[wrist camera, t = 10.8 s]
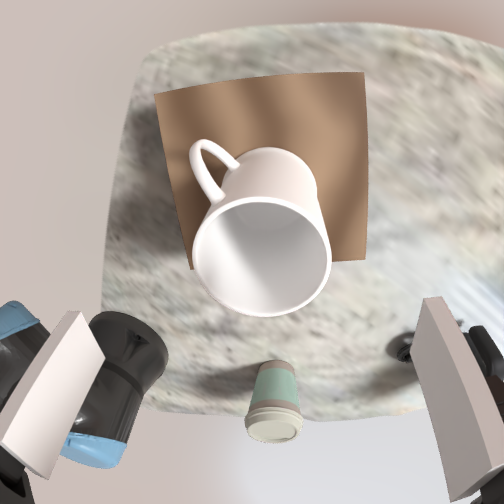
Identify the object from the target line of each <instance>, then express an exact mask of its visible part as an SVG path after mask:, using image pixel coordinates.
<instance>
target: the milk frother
mask: <svg viewBox="0 0 504 504" xmlns="http://www.w3.org/2000/svg"><path fill="white" fill-rule="evenodd" d="M463 335H464V337H465V339H466V341H467V343H468V345H469V347H470V349H471V351H472V353H473V355H474V357H475V359H476V361H477V363H478V365H479V367H480V370H481V372H482V374H483V376H484V378H486V377H489V376H493V375H497V376H498V377H499V378H500V379H501V380H502V381H503V380H504V358H503V356H502V354H501V352H500V351H499V349H498V348H497V346H496V344H495V343H494V341H493V340H492V338H491V337H490V335H489V334H488V332H487V331H486V329H485V328H484V327H483V326H473V327H471V328H470V329H469V333H463ZM411 345H412V344H409V345H408V346H406V347H404V348H403V349H401V350H400V351H399V352H398V354H397V358H398V360H399V361H402V362H404V361H405V362H406V363H410V362H413V361H412V358H411V355H410V349H411Z"/></svg>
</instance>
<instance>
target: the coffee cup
mask: <svg viewBox="0 0 504 504" xmlns="http://www.w3.org/2000/svg"><path fill="white" fill-rule="evenodd" d="M302 426H303V418H302V416H301V415H300V407H299V400H298V394H297V387H296V380H295V374H294V369H293V367H292V366H291V365H290V364H289V363H287V362H284V361H280V360H272V361H268V362H265V363H264V364H262V365H261V366H260V368H259V371H258V375H257V379H256V383H255V387H254V391H253V395H252V399H251V403H250V407H249V411H248V414H247V415H246V416H245V427H246V428H247V433H248V434H249V436H250V437H252V438H253V439H255V440H257V441H260V442H264V443H284V442H288V441H291V440H293V439H295V438H296V437H297V436H298V435H299V433H300V430H301V428H302Z"/></svg>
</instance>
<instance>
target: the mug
mask: <svg viewBox="0 0 504 504" xmlns="http://www.w3.org/2000/svg"><path fill="white" fill-rule="evenodd" d="M200 149H204V150H206V151H208V152H210V153H212V154H213V155H214V156H216V157H217V158H218V159H219V160H221V161H222V162H223V163H224V164H225V165H226V166H227V168H228V170H227V171H226V173H225V176H224V178H223V182H222V186H221V188H219V187H218V185H217V184H216V183H215V181H214V180H213V178H212V177H211V175H210V173H209V172H208V170H207V168H206V166H205V164H204V162H203V159H202V156H201V151H200ZM189 159H190V164H191V167H192V170H193V172H194V175H195V177H196V179H197V181H198V183H199V184H200V186H201V188H202V189H203V191H204V193H205V194H206V196H207V197H208V199H209V200H210V202H211V204H212V205H211V207H210V208H209V210H208V212H207V214H206V216H205V218H204V220H203V222H202V223H201V225H200V227H199V229H198V231H197V234H196V236H195V239H194V243H193V249H192V260H193V266H194V270H195V273H196V275H197V278H198V280H199V282H200V283H201V285H202V286H203V288H204V289H205V290H206V291H207V293H208V294H209V295H210V296H211V297H212V298H214V299H215V300H216V301H217V302H219V303H220V304H222V305H223V306H225V307H227V308H229V309H231V310H233V311H235V312H238V313H241V314H245V315H250V316H257V317H272V316H279V315H283V314H287V313H290V312H293V311H295V310H297V309H299V308H301V307H303V306H305V305H306V304H307V303H309V302H310V301H311V300H312V299H314V298H315V297H316V296H317V295H318V293H319V292H320V291H321V290H322V288H323V287H324V285H325V283H326V281H327V279H328V276H329V273H330V269H331V261H332V256H331V248H330V243H329V239H328V235H327V232H326V228H325V224H324V220H323V217H322V213H321V209H320V206H319V202H318V199H317V186H316V182H315V179H314V176H313V174H312V172H311V170H310V169H309V167H308V166H307V165H306V164H305V162H304V161H303V160H301V159H300V158H299V157H298V156H296V155H295V154H293V153H291V152H289V151H286V150H283V149H280V148H274V147H263V148H257V149H254V150H251V151H248V152H246V153H244V154H243V155H241V156H240V157H238V158H237V159H236V160H235V159H234V158H233V157H232V156H231V155H230V154H229V153H228V152H226V151H225V150H224V149H223V148H222V147H220V146H219V145H217V144H216V143H214V142H212V141H209V140H206V139H201V140H198V141H197V142H195V143H194V144H193V145H192V146H191V148H190V152H189Z"/></svg>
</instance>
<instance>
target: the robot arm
mask: <svg viewBox="0 0 504 504" xmlns="http://www.w3.org/2000/svg"><path fill="white" fill-rule="evenodd" d="M410 355H411V358H412V361H413V364H414V367H415V370H416V373H417V376H418V379H419V382H420V385H421V388H422V391H423V395H424V398H425V401H426V404H427V408H428V411H429V415H430V418H431V421H432V425H433V429H434V433H435V436H436V440H437V444H438V448H439V452H440V456H441V460H442V464H443V469H444V474H445V478H446V483H447V488H448V493H449V498H450V502H454V501H457V500H460V499H462V498H465V497H468V496H471V495H473V494H474V493H475V492H477V491H478V490H479V489H480V492H481V496H479V497H478V498H477V499H475V500H474V501H472V502H471V504H504V382H503V381H502V380H501V379H500V378H499V377H498V376H497V375H493V376H489V377H486V378H484V376H483V374H482V372H481V370H480V367H479V365H478V363H477V361H476V359H475V357H474V355H473V353H472V351H471V349H470V347H469V345H468V343H467V341H466V339H465V337H464V335H463V333H462V332H461V330H460V328H459V326H458V324H457V322H456V320H455V319H454V317H453V315H452V313H451V311H450V310H449V308H448V306H447V304H446V303H445V301H444V299H443V297H442V296H440V297H432V298H424V299H423V303H422V307H421V311H420V315H419V319H418V323H417V327H416V331H415V335H414V338H413V342H412V345H411V349H410ZM167 362H168V351H167V348H166V346H165V344H164V342H163V340H162V339H161V338H160V336H159V335H158V334H157V333H156V332H155V331H154V330H153V329H151V328H150V327H149V326H148V325H146V324H145V323H143V322H142V321H140V320H138V319H136V318H134V317H132V316H129V315H126V314H123V313H118V312H103V313H100V314H98V315H96V316H95V317H94V318H93V319H92V320H91V322H90V323H89V325H88V324H87V323H86V320H85V318H84V316H83V314H82V312H81V311H67V313H66V314H65V315H64V317H63V318H62V320H61V321H60V322H59V324H58V325H57V326H56V328H55V329H54V331H53V332H52V334H50V333H49V332H48V331H47V330H46V329H45V328H44V326H43V325H42V324H41V323H40V320H39V319H37V318H35V317H34V316H33V315H32V314H31V313H30V312H29V311H28V310H27V309H26V308H25V307H24V305H22V304H21V303H20V302H18V301H10V302H7V303H6V304H5V305H3V306H2V307H1V308H0V504H35V503H34V499H33V495H32V491H31V487H30V483H29V479H28V475H27V473H26V472H25V471H24V468H25V467H27V468H28V469H29V470H30V471H32V472H33V473H34V474H36V475H38V476H40V477H43V478H45V479H47V480H49V478H50V475H51V473H52V470H53V468H54V466H55V463H56V461H57V459H58V456H59V454H60V455H62V456H64V457H66V458H68V459H71V460H73V461H76V462H78V463H81V464H84V465H87V466H91V467H96V468H103V469H108V468H112V467H115V466H116V465H117V464H118V463H119V461H120V459H121V456H122V454H123V452H124V450H125V448H126V447H127V441H128V438H129V436H130V433H131V430H132V427H133V424H134V421H135V418H136V416H137V413H138V410H139V407H140V404H141V402H142V399H143V396H144V394H145V393H146V392H147V391H148V389H149V388H150V387H151V386H152V385H153V384H154V382H155V381H156V380H157V379H158V378H159V377H160V376H161V375H162V374H163V372H164V370H165V367H166V365H167Z"/></svg>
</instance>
